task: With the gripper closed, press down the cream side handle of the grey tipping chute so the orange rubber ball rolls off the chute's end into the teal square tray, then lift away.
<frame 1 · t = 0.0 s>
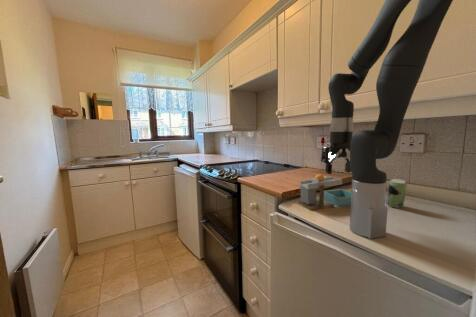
hand: (338, 172, 77), 17 cm above the table, tool pointing down, fingers open, 8 cm apart
teal square tray: (340, 201, 94), on the table
ball: (319, 178, 90), point 12 cm above the table, tilted 12°, touching chute
chute: (317, 187, 93), point 7 cm above the table, hinge at -3.0°, touching ball
beverage can: (394, 207, 87), on the table
stand: (315, 204, 91), on the table
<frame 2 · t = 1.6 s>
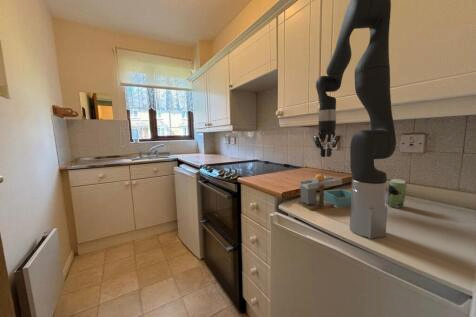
hand: (325, 156, 96), 21 cm above the table, tool pointing down, fingers closed
nothing on the table moved.
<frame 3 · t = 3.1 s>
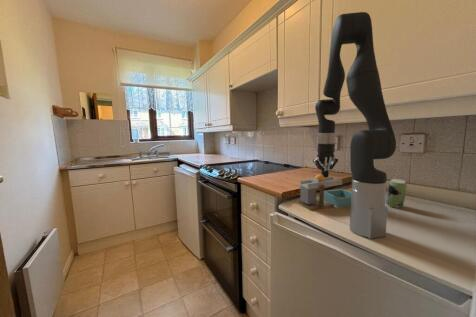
hand: (324, 178, 97), 11 cm above the table, tool pointing down, fingers closed
chute: (317, 187, 93), point 7 cm above the table, hinge at -2.1°, touching ball, gripper
everything else where it was.
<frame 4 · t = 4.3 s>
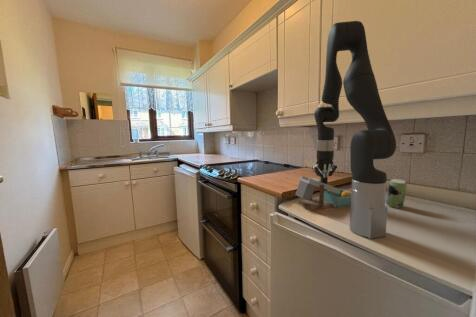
hand: (323, 184, 98), 7 cm above the table, tool pointing down, fingers closed
ball: (346, 195, 95), point 3 cm above the table, tilted 90°, touching teal square tray
chute: (315, 189, 93), point 6 cm above the table, hinge at 21.4°, touching gripper
everything else where it was.
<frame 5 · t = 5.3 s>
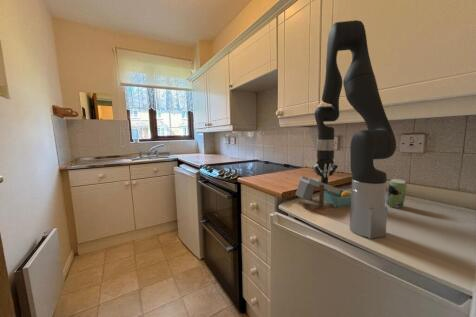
hand: (324, 184, 97), 7 cm above the table, tool pointing down, fingers closed
chute: (315, 189, 93), point 6 cm above the table, hinge at 21.5°
everything else where it was.
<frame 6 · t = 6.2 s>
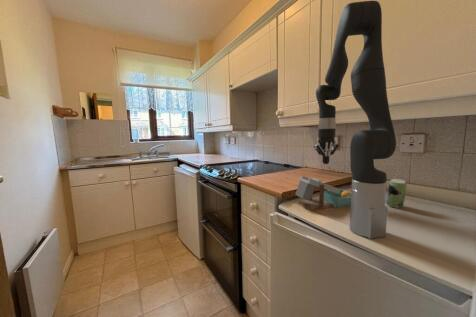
hand: (325, 163, 98), 17 cm above the table, tool pointing down, fingers closed
nothing on the table moved.
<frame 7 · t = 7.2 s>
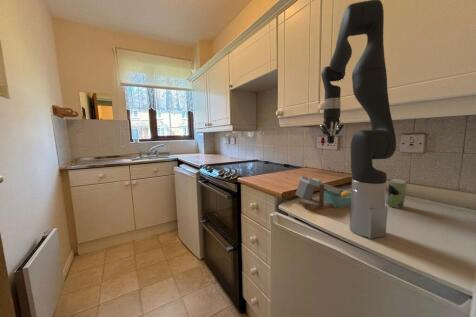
hand: (330, 143, 101), 27 cm above the table, tool pointing down, fingers closed
nothing on the table moved.
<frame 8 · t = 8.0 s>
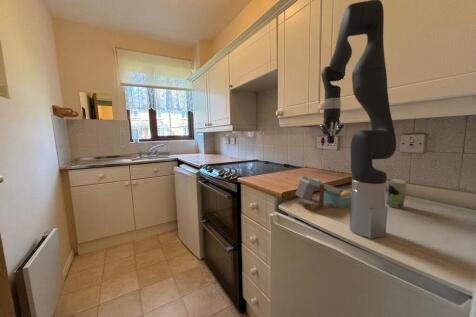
hand: (330, 143, 101), 27 cm above the table, tool pointing down, fingers closed
nothing on the table moved.
at the end: ball inside the target area on the teal square tray (2.6 cm from its centre), point 2.8 cm above the teal square tray's base; ball touching teal square tray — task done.
